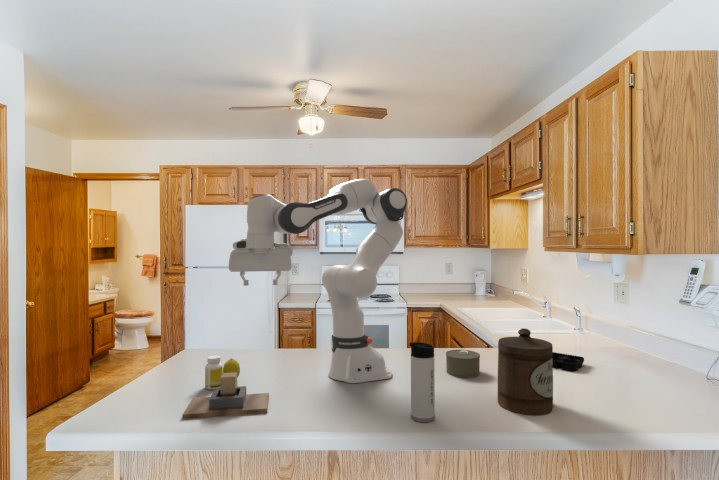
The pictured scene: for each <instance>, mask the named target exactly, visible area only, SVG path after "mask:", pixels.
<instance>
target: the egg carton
mask: <svg viewBox="0 0 719 480" xmlns="http://www.w3.org/2000/svg"><path fill="white" fill-rule="evenodd" d="M552 361H553V370H554V369H555V370H558V369H561V370H562V371H565V372H569V373H575V372H578V371H579V369H581V368H582V367H583V364H584V362H585V357H583V356H579V355H572V354H565V353H560V352H555V351H553V355H552Z"/></svg>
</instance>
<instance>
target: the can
mask: <svg viewBox="0 0 719 480" xmlns="http://www.w3.org/2000/svg"><path fill="white" fill-rule="evenodd" d="M480 357H481V355H480V353H479V352H476V351H473V350H469V349H452V350H448V351H446V352H445V359H446V362H445V365H446V366H445V367H446V370H445V372H446V373H447V374H448V375H449V376H451V377H454V378H455V377H456V378H461V379H462V378H463V379H471V378H472V379H473V378H477V377H478V376H480V371H481V370H480V367H481V366H480V361H481V360H480Z"/></svg>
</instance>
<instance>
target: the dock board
mask: <svg viewBox="0 0 719 480" xmlns="http://www.w3.org/2000/svg"><path fill="white" fill-rule="evenodd" d="M210 397H211V396H203V397H192V399H191V400H190V402H189V403H188V405H187V407H186V408H185V410H184V412H183V413H182V420H187V419H202V418H214V417H230V416H241V415H242V416H243V415H257V414H268V407H269V400H270V398H269V397H270V394H269V392H264V393H246V400H245V403H244V407H243V408H237V409H223V410H209V399H210Z"/></svg>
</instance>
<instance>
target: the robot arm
mask: <svg viewBox="0 0 719 480" xmlns="http://www.w3.org/2000/svg"><path fill="white" fill-rule="evenodd" d="M407 206H408V197H407V195H406V193H405V192H404V191H403V190H402V189H400V188H397V187H390V188H387V189H385V190H383V191H381V192H379V191H378V189H376V186H375V184H374V183H373V181H372V180H370V179H368V178H359V179H358V178H357V179H353V180H348V181H346V182H343V183H340V184H338V185H335V186H334V187H332V188H330V189H329V190H328V191H327V193H326V196H325V197H322V198H319V199H317V200H314V201H311V202H296V201H294V202H290V203H288V204H285V203H283V202H281V201H279V200H278V199H276V198H275V197H273V195H271V194H270V193H269V194H268V193H267V194H266V193H265V194H258V195H254V196H252V197H251V198H249V200H248V203H247V207H246V208H247V210H246V223H247V232H246V238H245V239H244V238H242V239H240V240H238V241H235V242H234V241H233V243H232V248H233V250H232V251H231V252H230V254H229V260H228V270H229V271H230V273H231V272H233V273H235V272H239V276H240V277H241V279H242V281H243V287H244V286H246V287H247V286H249V284H250V283H249V279H246V277H245V275H246V272H276V275H277V276H276V278H274V279H272V286H274V285H275V286H277V285H278V284H279V282H278V281H279V278H280V277H281V276H282V272H289V271H291V270H292V268H293V267H292V255H293V251H294V250H293V246H292V245H291V244H289V243H288V242H287V243H285V242H284V243H279V242H278V243H277V242H276V243H275V232H276V233H280V234H285V235H286V234H293V235H297V234H299V235H300V234H302V233H305V232H306V231H307V230H308V229H309V228H310V227H311V226H312V225H313V224H314V223H315V222H317V221H319V220H322V219H325V218H327V217H328V216H332V215H337V216H339V215H345V214H348V213H352V212H354V211H357V210H360V211H361V214H362V215H363V217H364V219H365V220H366V222H368V223H369V224H371V225H375V226H374V227H373V230H371V231H369V233H368V235H367V236H366V237H365V238H364V239H363V240H362V242H360V243H359V245H357V247H356V248H355V255H356V256H355V258H354V259H353V260H352V262H350V263H349V264H333V265H331V266H329V267H327V268H326V269H325V270H324V271H323V273H322V276H321V282H322V283H321V284H322V285H323V287H324V288H325V290H326V292H327V295H328V299H329V304H330V307H331V313H332V335H331V338H330V339H331V340H330V341H331V343H330V344H331V345H330V346H331V361H330V367H329V371H328V373H327V375H328V377H329V378H331V379H333V380H335V381H341V382H345V383H347V384H359V383H366V382H367V383H368V382H373V381H379V380H380V381H381V380H387V379H388V380H389V379H391V378H392V376H393V372H392V370H391V369H390V367H388V366H386V361H385V358H384V356H383V355H382V353H381V352H379V351H378V350H376V348H374V347H373V346H371V344H372V343H373V342H374V340H373V338H372V337H370V336H368V335H367V334H365V315H364V311H363V309H362V308H361V306H360V305H359V302H358V299H360V298H367V297H369V296H371V295H373V293H374V292H375V291H376V289H377V286H378V280H377V274H378V272H379V270H380V269H381V267H382V265H383V264H384V263H385V261H386V260H387V259H388V258H389V257H390V256H391V254H392V252H394V250H395V249H396V247H397V245H398V244H399V243H400V241H401V239H402V237H403V235H404V234H403V233H404V231H403V227H402V225H401V224H400V223H399V221H402V220H403V219H404V215H405V211H406V210H407Z"/></svg>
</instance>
